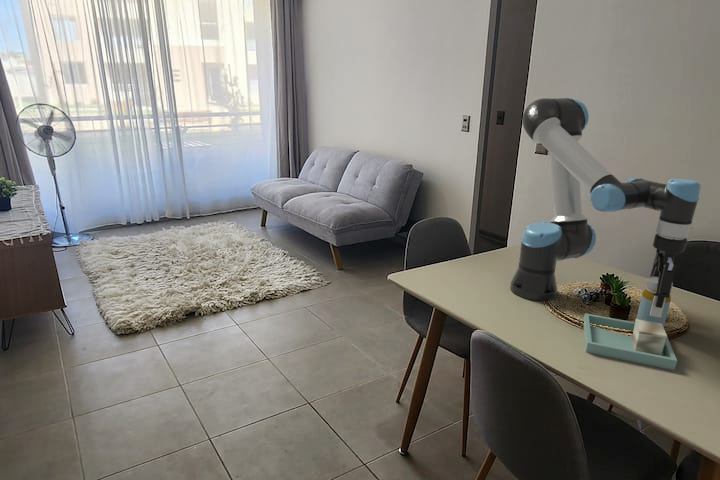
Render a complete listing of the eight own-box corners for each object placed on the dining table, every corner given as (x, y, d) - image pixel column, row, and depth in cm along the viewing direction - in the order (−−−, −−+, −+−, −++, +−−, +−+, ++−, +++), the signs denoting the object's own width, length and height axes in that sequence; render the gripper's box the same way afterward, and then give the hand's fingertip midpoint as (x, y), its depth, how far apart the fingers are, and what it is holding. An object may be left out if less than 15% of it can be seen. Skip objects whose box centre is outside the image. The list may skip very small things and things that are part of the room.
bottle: (653, 335, 132) (665, 287, 127) (630, 324, 138) (640, 278, 133) (667, 330, 135) (680, 283, 130) (644, 319, 141) (655, 274, 136)
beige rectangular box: (634, 351, 122) (639, 331, 120) (630, 338, 128) (635, 318, 126) (661, 357, 120) (667, 336, 118) (656, 343, 126) (661, 323, 124)
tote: (585, 354, 122) (587, 342, 121) (582, 323, 137) (584, 313, 136) (673, 373, 115) (677, 360, 113) (660, 338, 130) (663, 327, 129)
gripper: (696, 248, 117) (675, 328, 124) (679, 227, 134) (661, 299, 142) (662, 244, 120) (643, 323, 127) (649, 224, 137) (633, 294, 145)
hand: (652, 310), depth 134 cm, fingers closed on bottle, 7 cm apart
